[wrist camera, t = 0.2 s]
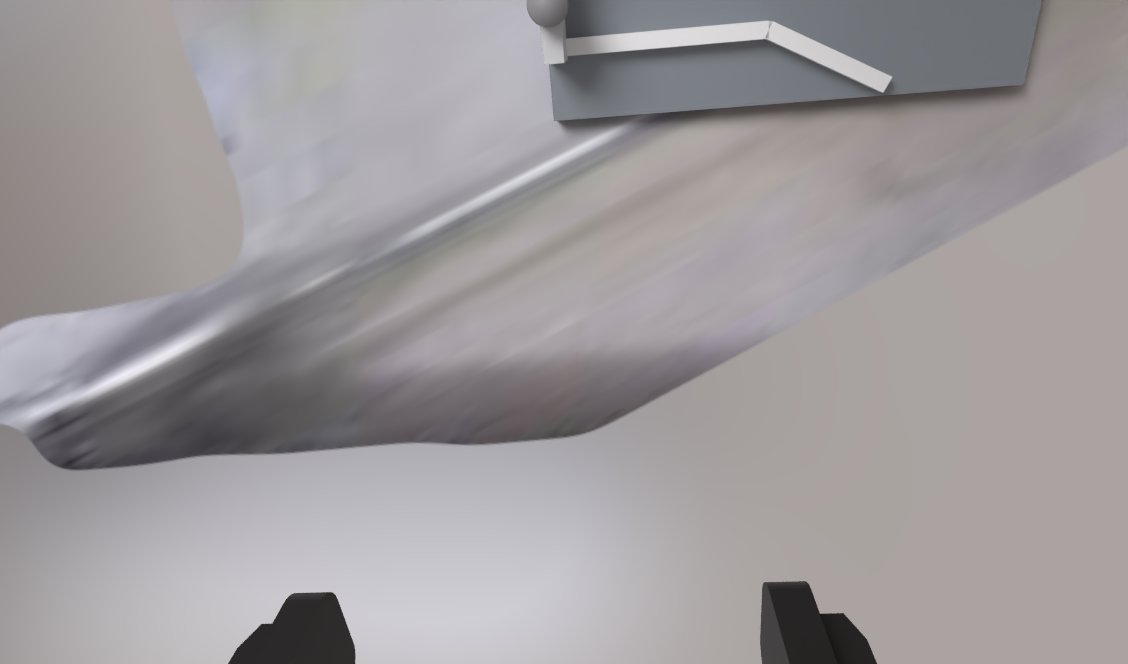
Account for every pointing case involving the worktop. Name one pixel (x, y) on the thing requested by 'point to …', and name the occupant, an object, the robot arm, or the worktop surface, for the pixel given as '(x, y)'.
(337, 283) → the worktop surface
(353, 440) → the worktop surface
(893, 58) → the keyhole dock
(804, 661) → the robot arm
